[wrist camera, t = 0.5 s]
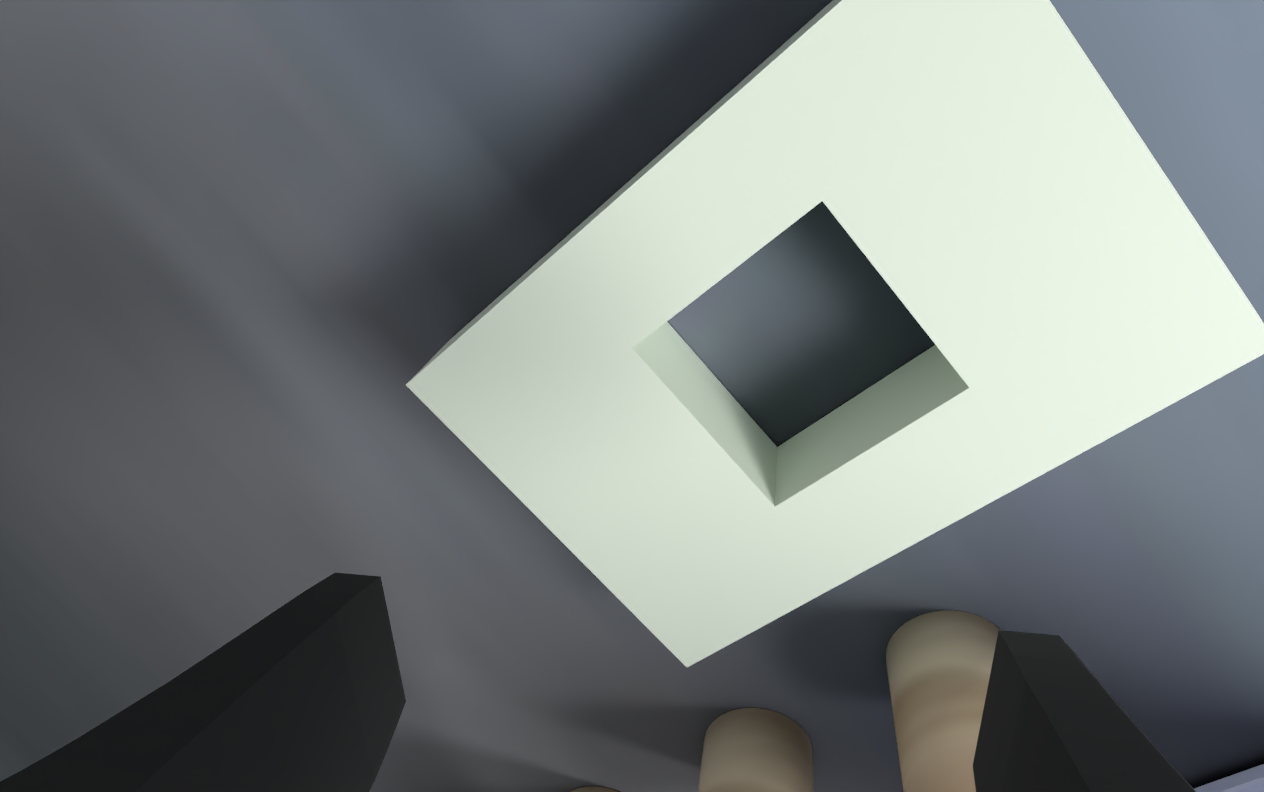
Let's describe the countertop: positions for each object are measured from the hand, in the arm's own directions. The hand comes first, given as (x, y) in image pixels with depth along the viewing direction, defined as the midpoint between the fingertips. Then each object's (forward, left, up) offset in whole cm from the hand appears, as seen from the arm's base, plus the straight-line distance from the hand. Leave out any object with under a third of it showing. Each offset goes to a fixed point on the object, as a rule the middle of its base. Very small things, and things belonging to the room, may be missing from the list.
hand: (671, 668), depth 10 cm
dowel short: (-10, +1, -10) cm, 14 cm away
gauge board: (0, -2, -10) cm, 10 cm away
